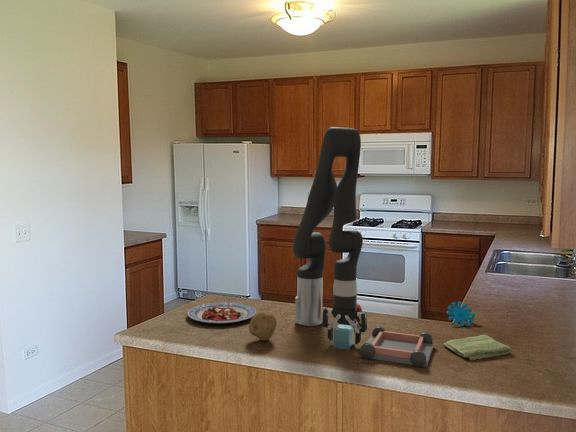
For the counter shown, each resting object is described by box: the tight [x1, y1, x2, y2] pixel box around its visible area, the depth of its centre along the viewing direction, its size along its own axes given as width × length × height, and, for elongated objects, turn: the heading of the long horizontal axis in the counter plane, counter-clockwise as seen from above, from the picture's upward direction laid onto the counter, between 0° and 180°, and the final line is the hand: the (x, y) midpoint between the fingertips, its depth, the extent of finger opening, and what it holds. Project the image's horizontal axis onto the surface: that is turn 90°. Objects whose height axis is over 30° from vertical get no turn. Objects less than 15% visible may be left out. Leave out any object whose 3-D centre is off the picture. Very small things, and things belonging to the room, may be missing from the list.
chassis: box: [358, 325, 434, 368], centre depth 162 cm, size 20×19×4 cm
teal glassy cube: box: [333, 323, 355, 351], centre depth 167 cm, size 5×6×6 cm
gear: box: [446, 301, 478, 328], centre depth 191 cm, size 11×6×10 cm
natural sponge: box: [248, 310, 278, 342], centre depth 171 cm, size 9×9×10 cm
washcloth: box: [442, 334, 512, 361], centre depth 164 cm, size 13×18×3 cm
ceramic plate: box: [187, 301, 257, 325], centre depth 197 cm, size 26×26×3 cm
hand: (344, 341), depth 167 cm, fingers open, 8 cm apart
